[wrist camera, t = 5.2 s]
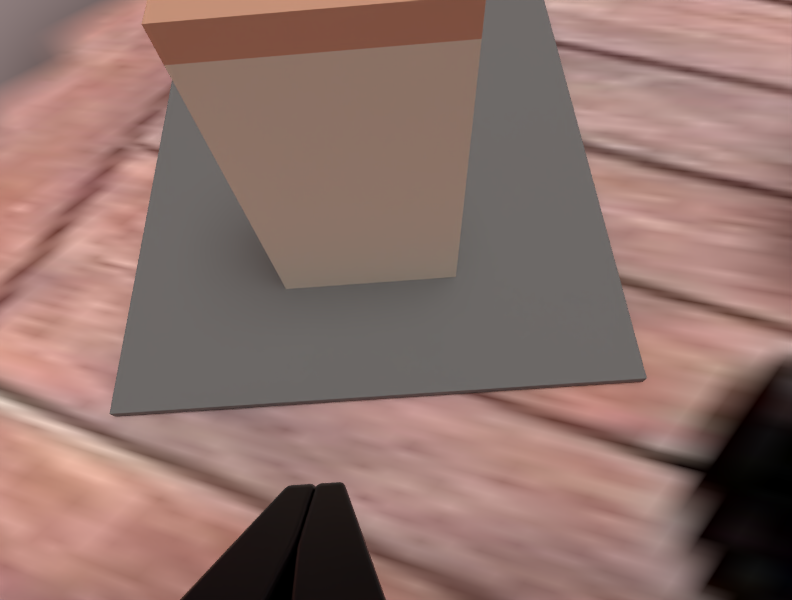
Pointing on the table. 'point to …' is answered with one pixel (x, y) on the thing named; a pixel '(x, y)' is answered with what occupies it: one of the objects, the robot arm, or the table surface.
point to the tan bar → (334, 125)
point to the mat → (397, 300)
